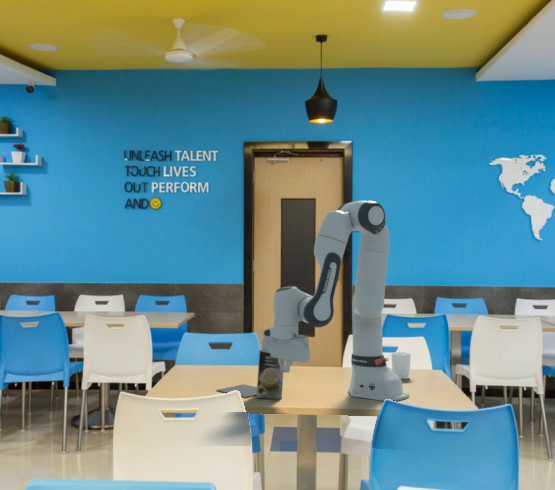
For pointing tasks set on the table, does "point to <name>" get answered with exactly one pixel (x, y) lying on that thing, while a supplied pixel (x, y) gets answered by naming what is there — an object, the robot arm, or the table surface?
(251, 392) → the rubber mat
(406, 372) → the white cup
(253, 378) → the table surface
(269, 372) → the coffee box
